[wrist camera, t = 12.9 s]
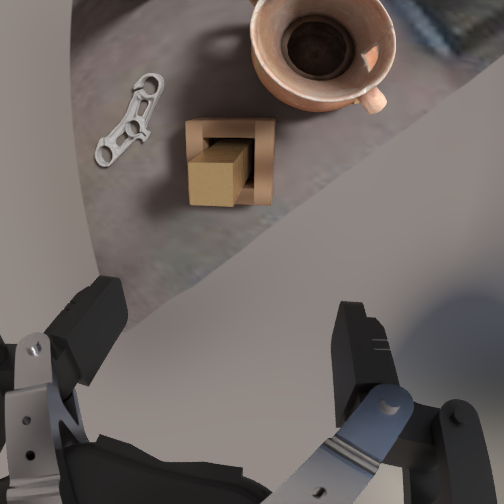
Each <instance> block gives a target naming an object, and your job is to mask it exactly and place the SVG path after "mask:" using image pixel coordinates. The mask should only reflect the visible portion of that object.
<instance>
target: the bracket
mask: <svg viewBox="0 0 504 504" xmlns="http://www.w3.org/2000/svg"><path fill="white" fill-rule="evenodd" d="M151 76H153V77H155V78H156V79H157V80H158V83H159V86H158V90H157V92H156V93H155V94H153V95H148V94H147V93H146V92H145V91H144V89H143V90H138V91H135V92H134V95H133V97H132V99H131V102H130V104H129V107H128V110H127V112H126V114H125V116H124V117H123V119H122V121H121V122H120V123H119V124H118V126H117V127H116V128H114V129H113V130H112V132H111V133H110V134H109V135H108V136H107V137H104V138H101V139H100V140H99V143H98V145H97V148H96V151H95V158H96V161H97V162H98V164H99V165H101V166H103V167H106V166H110V165H111V164H114V162H115V161H116V160H117V159H118V158H119V157H120V156H121V155H122V154H123V153H124V152H125V151H126V150H127V149H128V148H129V147H130V146H131V145H132V144H133V143H134V142H135V141H136V139H138V138H140V139H142V140H143V142H145V141H146V140H147V139H148V138H149V136H150V134H151V132H150V131H147V130H146V128H147V124H148V122H149V119H150V117H151V115H152V113H153V110H154V108H155V106H156V103H157V101H158V99H159V98H160V96H161V94H162V92H163V89H164V86H165V84H164V80H163V78H162V76H160V75H159V74H155V73H148V74H145V75H144V76H142V77H141V78H140V79H139V80H138V82H137V83H136V84H135V85H134V86H133V88H134V90H136V89H139V88H142V87H143V85H144V82H145V81H146V80H147V79H148V78H149V77H151ZM144 99H145V100H147V101H148V103H149V104H148V106H147V108H146V110H145V112H144V114H143V116H138V115H137V113H138V109H139V106H140V102H141V101H142V100H144ZM134 115H135V117H134V118H132V117H133V116H134ZM145 118H146V120H145ZM134 120H135V121H137V122H138V123H139V125H140V130H139V131H140V132H141V133H138V134H134V133H133V132H132V131H131V128H130V126H131V122H132V121H134ZM124 132H126V133H127V134H128V138H127V139H126V140H125V142H124V143H123V144H122V145H121V146H118V145H117V143H116V139H117V138H118V137H119V136H120V135H122V134H123V133H124ZM133 137H134V139H132V138H133ZM104 145H105V146H108V147H109V148H110V149H111V151H112V160H111V162H110V163H108V162H105V161H104V159H103V158H102V155H101V150H102V148H103V146H104Z"/></svg>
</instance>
